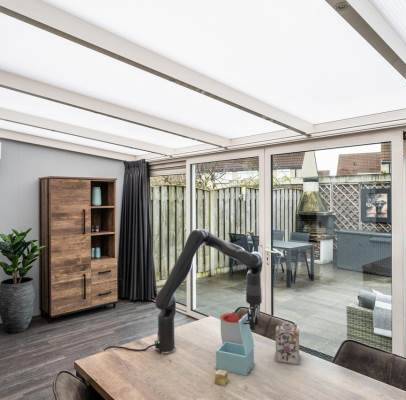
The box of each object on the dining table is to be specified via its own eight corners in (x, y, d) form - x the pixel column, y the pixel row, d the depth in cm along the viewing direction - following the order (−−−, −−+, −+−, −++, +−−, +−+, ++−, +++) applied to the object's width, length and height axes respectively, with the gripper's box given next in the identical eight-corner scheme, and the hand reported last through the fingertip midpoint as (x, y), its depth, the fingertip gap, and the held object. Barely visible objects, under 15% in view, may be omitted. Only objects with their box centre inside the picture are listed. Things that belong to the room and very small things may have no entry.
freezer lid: (238, 321, 159) (248, 320, 157) (246, 313, 170) (256, 313, 168) (245, 356, 157) (255, 356, 155) (252, 346, 168) (263, 346, 166)
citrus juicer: (252, 343, 193) (252, 309, 193) (241, 355, 178) (240, 318, 179) (228, 338, 201) (228, 305, 202) (215, 349, 187) (215, 313, 187)
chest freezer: (216, 368, 164) (215, 350, 164) (225, 358, 175) (225, 341, 176) (246, 375, 157) (245, 357, 157) (253, 364, 168) (253, 347, 168)
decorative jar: (299, 355, 177) (299, 321, 178) (299, 365, 166) (298, 329, 167) (276, 352, 181) (276, 319, 182) (275, 361, 170) (274, 326, 171)
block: (215, 383, 151) (214, 373, 151) (218, 378, 155) (218, 369, 155) (224, 385, 148) (224, 375, 149) (227, 380, 152) (227, 371, 152)
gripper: (250, 288, 170) (251, 321, 170) (241, 295, 157) (242, 330, 157) (265, 290, 167) (265, 323, 166) (257, 297, 154) (257, 333, 154)
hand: (254, 327), depth 162 cm, fingers closed on freezer lid, 5 cm apart
